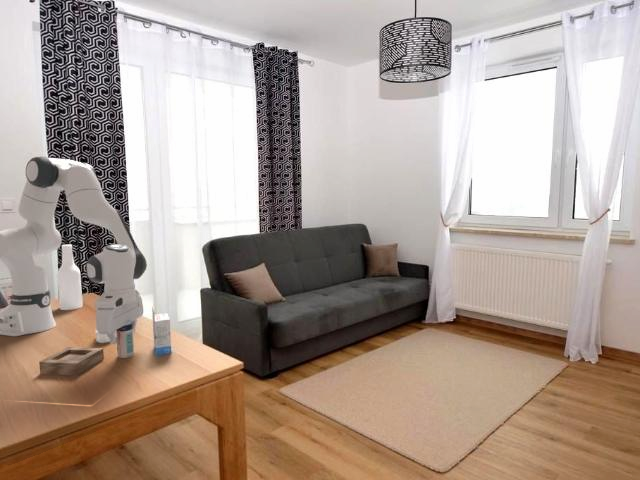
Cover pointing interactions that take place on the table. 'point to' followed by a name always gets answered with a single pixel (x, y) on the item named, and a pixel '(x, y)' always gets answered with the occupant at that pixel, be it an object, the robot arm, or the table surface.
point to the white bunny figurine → (102, 337)
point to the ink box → (161, 333)
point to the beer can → (125, 340)
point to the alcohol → (69, 281)
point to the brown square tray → (71, 361)
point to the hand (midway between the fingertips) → (123, 338)
